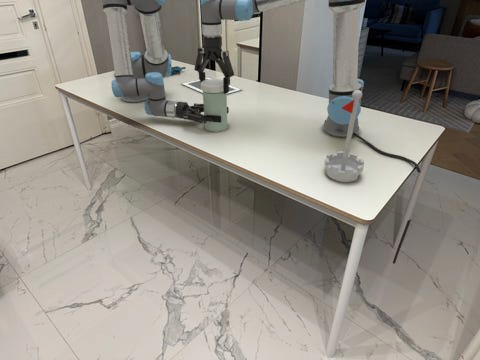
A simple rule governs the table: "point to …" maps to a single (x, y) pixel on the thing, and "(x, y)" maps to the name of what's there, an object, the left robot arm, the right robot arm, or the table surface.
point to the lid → (212, 85)
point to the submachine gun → (176, 69)
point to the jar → (215, 110)
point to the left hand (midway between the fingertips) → (224, 114)
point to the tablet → (197, 86)
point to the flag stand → (346, 151)
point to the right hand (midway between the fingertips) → (214, 90)
